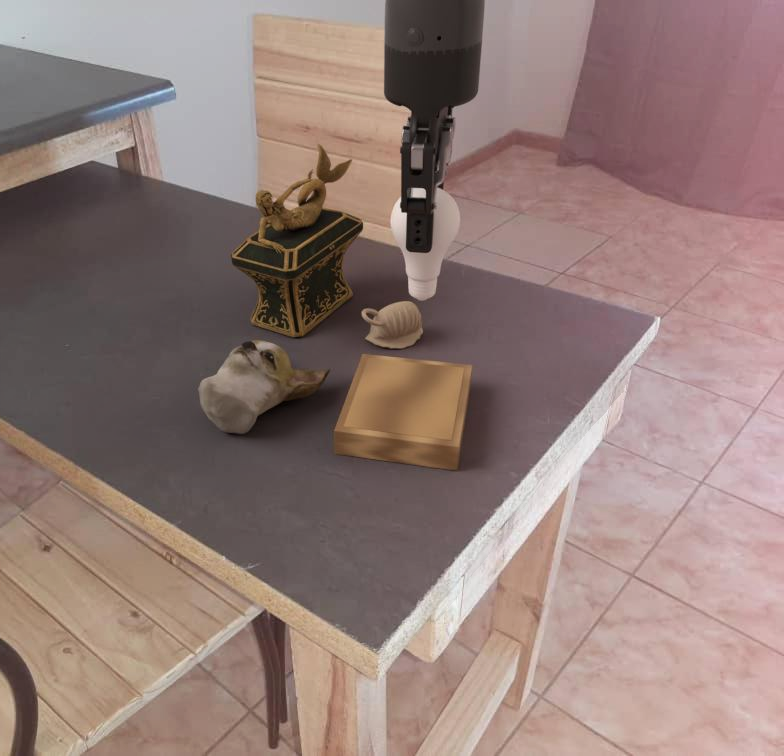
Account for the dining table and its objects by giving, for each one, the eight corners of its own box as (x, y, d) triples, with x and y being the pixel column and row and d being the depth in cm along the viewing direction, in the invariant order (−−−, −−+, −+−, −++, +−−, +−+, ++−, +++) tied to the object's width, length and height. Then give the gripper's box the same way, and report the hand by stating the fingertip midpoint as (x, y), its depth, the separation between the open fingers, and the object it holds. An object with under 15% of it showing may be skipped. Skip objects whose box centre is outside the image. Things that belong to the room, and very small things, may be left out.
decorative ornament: (430, 342, 93) (433, 302, 90) (366, 357, 91) (366, 318, 88) (415, 326, 96) (417, 287, 93) (353, 340, 94) (352, 302, 91)
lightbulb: (376, 303, 74) (377, 192, 67) (412, 278, 77) (415, 170, 71) (432, 322, 70) (438, 206, 64) (466, 294, 74) (475, 183, 68)
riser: (470, 387, 85) (472, 364, 83) (457, 471, 74) (459, 446, 72) (362, 375, 88) (362, 353, 86) (334, 454, 77) (333, 430, 75)
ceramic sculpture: (164, 355, 78) (256, 300, 88) (172, 426, 82) (259, 365, 92) (247, 389, 72) (335, 325, 82) (251, 462, 77) (334, 393, 87)
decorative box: (297, 349, 94) (287, 192, 82) (235, 328, 98) (217, 178, 87) (380, 280, 106) (381, 137, 95) (321, 265, 111) (315, 127, 100)
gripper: (473, 57, 54) (458, 274, 63) (489, 16, 65) (474, 206, 75) (367, 57, 56) (367, 267, 65) (400, 18, 67) (396, 202, 77)
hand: (424, 234), depth 70 cm, fingers closed on lightbulb, 6 cm apart
